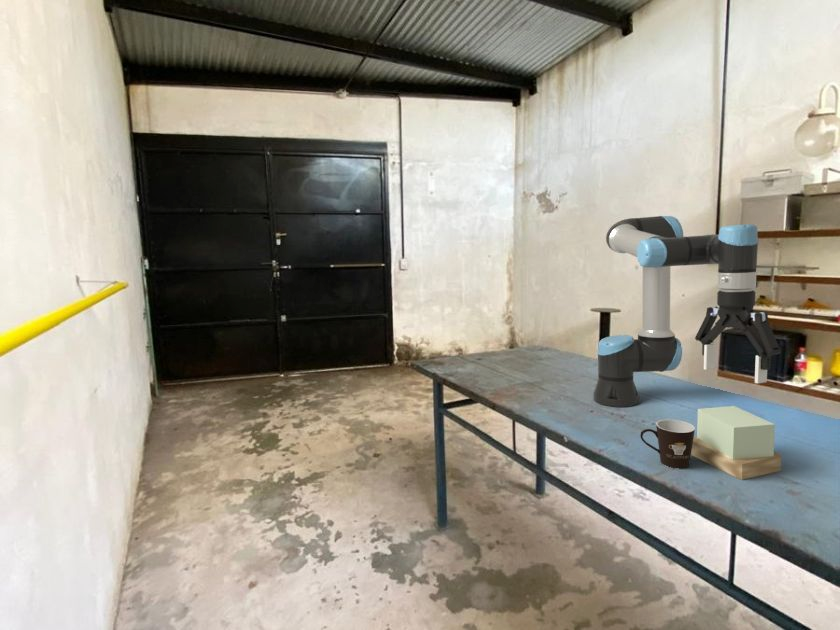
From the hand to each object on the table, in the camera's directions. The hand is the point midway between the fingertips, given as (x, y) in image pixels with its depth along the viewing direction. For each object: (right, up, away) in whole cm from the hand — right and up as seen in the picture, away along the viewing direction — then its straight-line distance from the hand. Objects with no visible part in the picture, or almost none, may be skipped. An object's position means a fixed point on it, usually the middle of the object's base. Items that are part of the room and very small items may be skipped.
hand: (733, 375), depth 111 cm
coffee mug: (-13, -23, +5) cm, 27 cm away
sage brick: (+2, -18, +3) cm, 19 cm away
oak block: (+2, -22, +3) cm, 23 cm away
